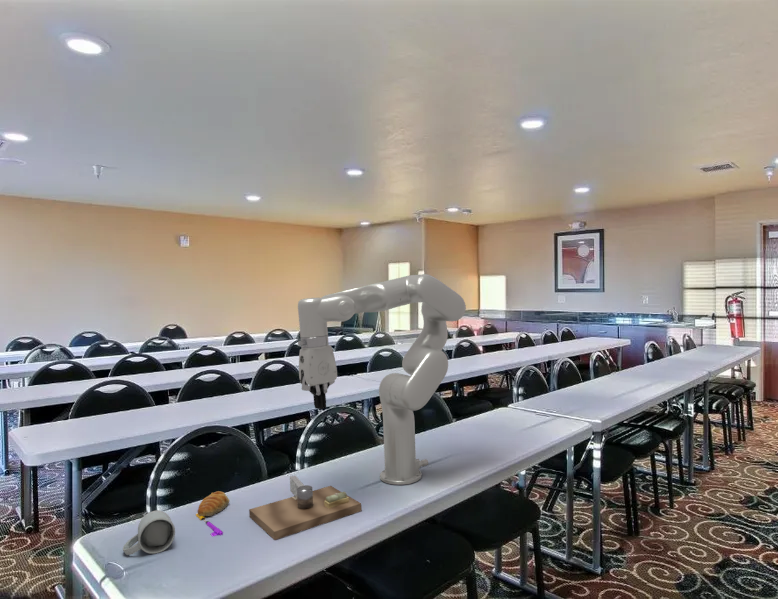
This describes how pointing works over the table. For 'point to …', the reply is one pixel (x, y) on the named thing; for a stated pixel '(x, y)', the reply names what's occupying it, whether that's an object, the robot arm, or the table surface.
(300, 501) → the ball-ended lever
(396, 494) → the table surface
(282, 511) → the brown wooden board
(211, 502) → the pastry
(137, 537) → the ceramic mug
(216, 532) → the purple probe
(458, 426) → the table surface
